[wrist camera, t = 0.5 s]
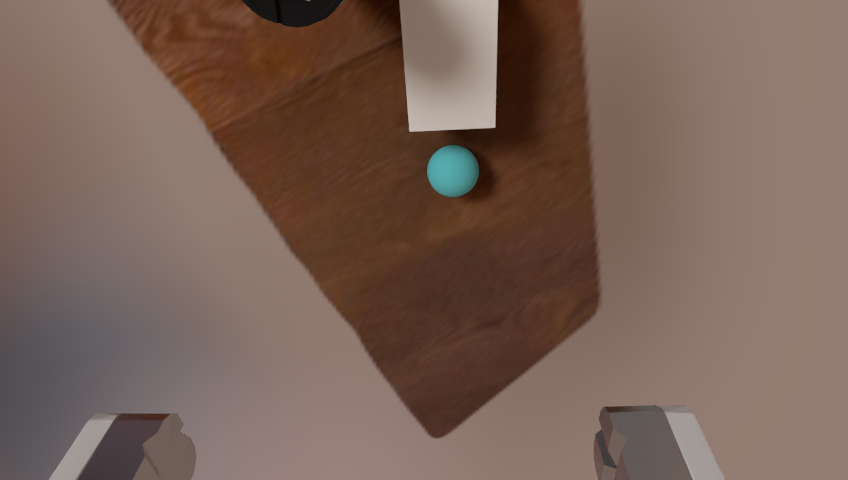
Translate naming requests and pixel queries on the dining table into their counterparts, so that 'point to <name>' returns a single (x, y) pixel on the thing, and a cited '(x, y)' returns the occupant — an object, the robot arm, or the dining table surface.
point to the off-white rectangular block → (450, 63)
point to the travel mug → (293, 10)
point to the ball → (453, 171)
